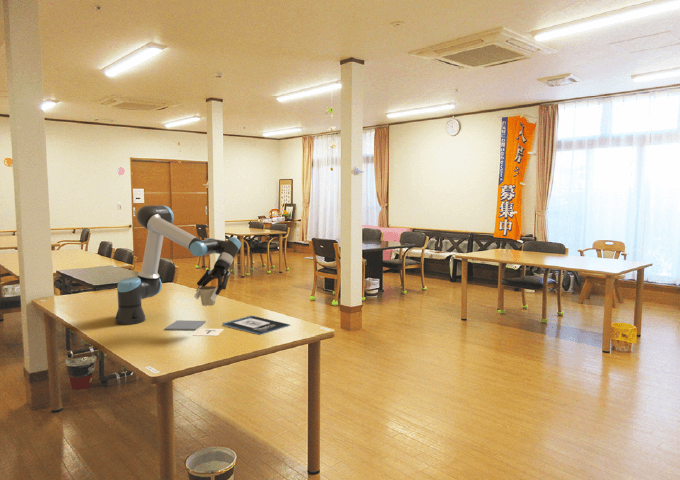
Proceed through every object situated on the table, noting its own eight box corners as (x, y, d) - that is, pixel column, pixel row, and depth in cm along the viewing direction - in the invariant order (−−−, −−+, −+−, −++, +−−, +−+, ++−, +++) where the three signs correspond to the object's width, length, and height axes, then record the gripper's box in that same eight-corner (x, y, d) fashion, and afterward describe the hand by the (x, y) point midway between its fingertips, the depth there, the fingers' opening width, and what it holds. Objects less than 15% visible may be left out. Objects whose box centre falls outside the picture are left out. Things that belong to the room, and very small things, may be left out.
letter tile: (192, 335, 225) (192, 335, 225) (201, 328, 237) (201, 328, 237) (217, 335, 224) (217, 335, 224) (224, 329, 236) (224, 328, 236)
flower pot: (212, 307, 224) (212, 290, 223) (194, 306, 226) (194, 289, 225) (221, 303, 233) (220, 286, 232) (204, 302, 235) (203, 285, 234)
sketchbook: (260, 336, 226) (260, 332, 226) (221, 326, 244) (221, 322, 243) (290, 326, 243) (290, 322, 243) (251, 318, 261) (251, 314, 261)
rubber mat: (164, 329, 234) (164, 328, 234) (177, 321, 250) (177, 320, 250) (195, 330, 234) (195, 328, 234) (205, 322, 250) (205, 320, 249)
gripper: (244, 268, 238) (225, 305, 224) (210, 266, 246) (190, 301, 233) (237, 259, 232) (218, 296, 219) (203, 257, 241) (182, 292, 228)
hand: (204, 298), depth 226 cm, fingers closed on flower pot, 9 cm apart
